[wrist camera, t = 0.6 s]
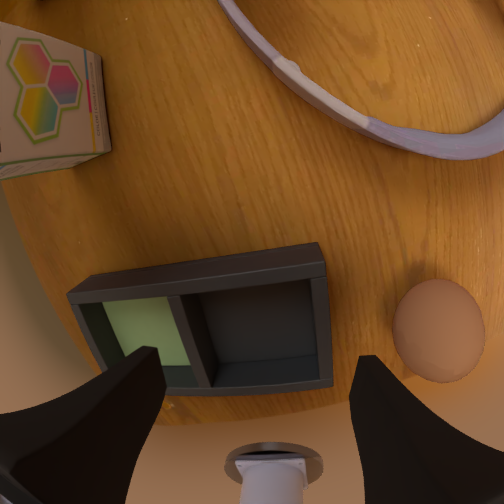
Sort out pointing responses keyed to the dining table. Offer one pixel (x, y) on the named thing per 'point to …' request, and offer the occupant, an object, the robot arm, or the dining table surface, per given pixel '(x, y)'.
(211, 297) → the divided tray
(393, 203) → the dining table surface
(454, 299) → the egg
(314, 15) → the dining table surface
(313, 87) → the headphones
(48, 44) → the ink box
